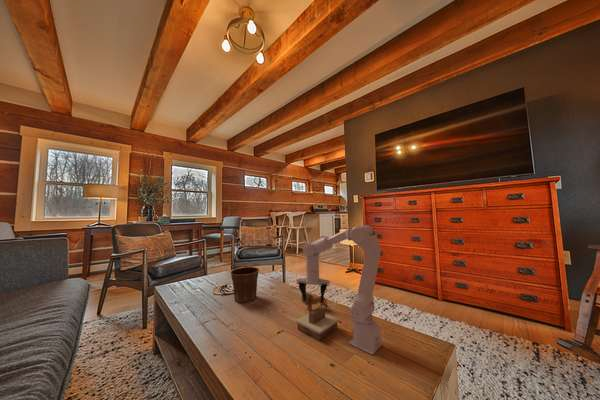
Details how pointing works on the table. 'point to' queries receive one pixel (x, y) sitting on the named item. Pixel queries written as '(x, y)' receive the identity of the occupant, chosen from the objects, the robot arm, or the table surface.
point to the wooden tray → (316, 335)
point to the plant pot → (244, 284)
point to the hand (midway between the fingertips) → (313, 301)
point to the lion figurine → (313, 301)
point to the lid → (317, 320)
